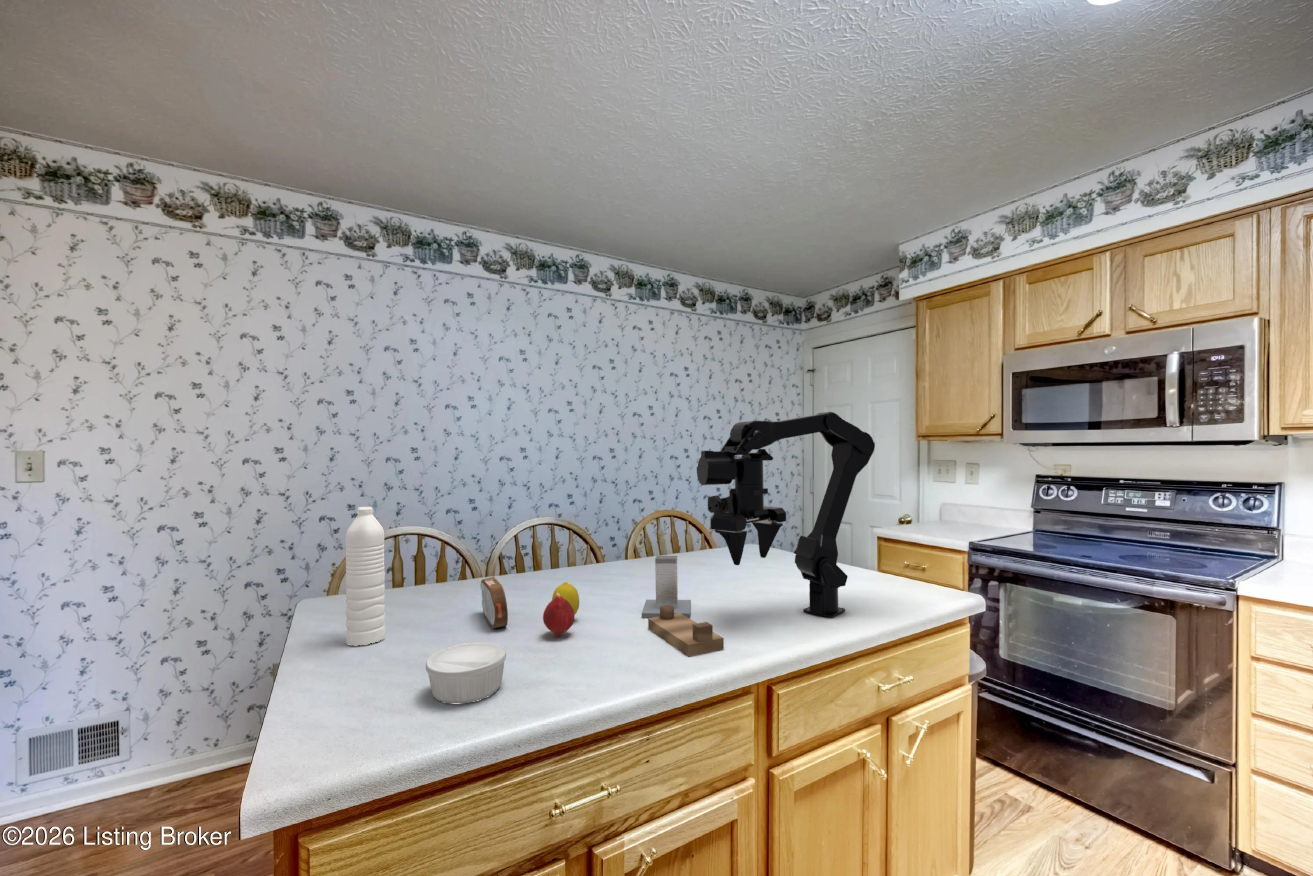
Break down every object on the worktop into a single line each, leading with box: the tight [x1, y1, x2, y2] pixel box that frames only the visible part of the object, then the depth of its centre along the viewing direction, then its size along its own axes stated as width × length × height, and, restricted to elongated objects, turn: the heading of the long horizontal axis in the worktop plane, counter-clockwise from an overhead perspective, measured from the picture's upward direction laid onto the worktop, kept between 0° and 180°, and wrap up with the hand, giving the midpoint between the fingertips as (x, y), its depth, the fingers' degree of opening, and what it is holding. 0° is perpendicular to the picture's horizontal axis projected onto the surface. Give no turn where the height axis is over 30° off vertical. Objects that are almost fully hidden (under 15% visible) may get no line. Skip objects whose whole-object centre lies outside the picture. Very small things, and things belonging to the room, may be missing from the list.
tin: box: [480, 576, 509, 629], centre depth 114 cm, size 15×3×8 cm, turn 27°
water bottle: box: [344, 506, 386, 646], centre depth 103 cm, size 9×6×25 cm
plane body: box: [647, 605, 725, 657], centre depth 102 cm, size 16×7×4 cm, turn 26°
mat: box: [641, 599, 692, 619], centre depth 119 cm, size 10×10×1 cm
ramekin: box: [425, 641, 507, 704], centre depth 82 cm, size 11×11×5 cm
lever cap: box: [654, 555, 679, 609], centre depth 119 cm, size 4×3×10 cm
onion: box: [542, 593, 576, 637], centre depth 105 cm, size 6×6×8 cm
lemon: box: [551, 581, 580, 615], centre depth 113 cm, size 6×6×8 cm
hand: (750, 561), depth 112 cm, fingers open, 9 cm apart
